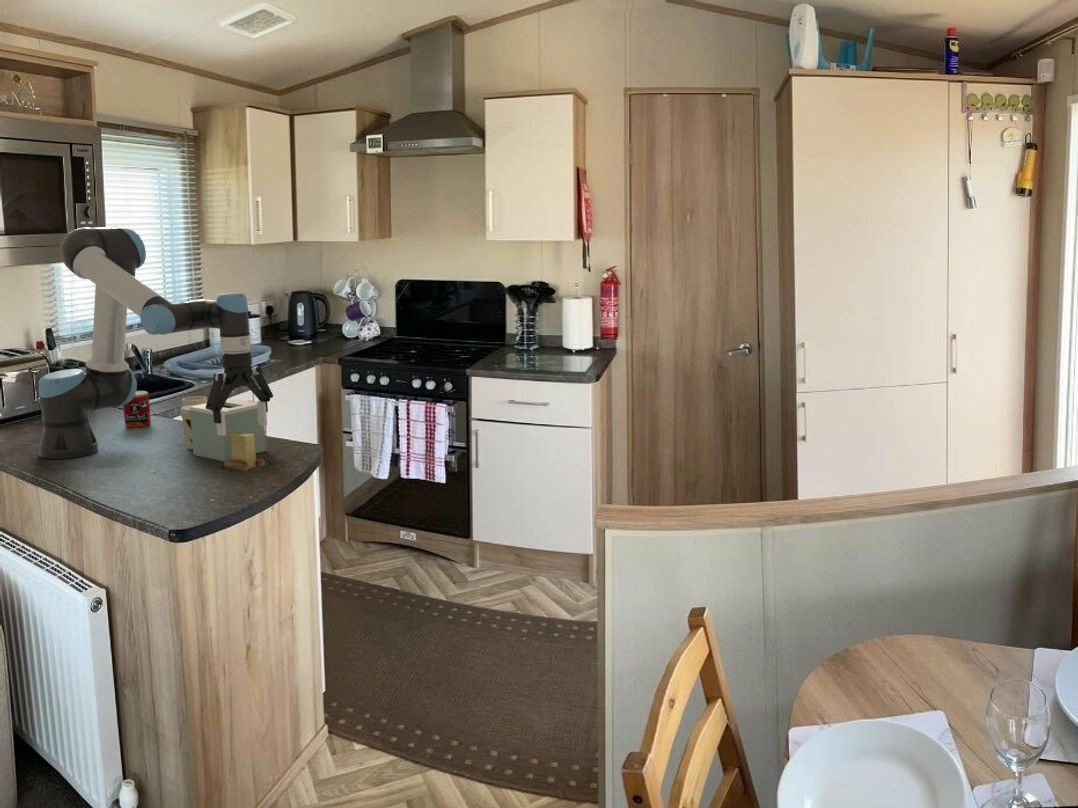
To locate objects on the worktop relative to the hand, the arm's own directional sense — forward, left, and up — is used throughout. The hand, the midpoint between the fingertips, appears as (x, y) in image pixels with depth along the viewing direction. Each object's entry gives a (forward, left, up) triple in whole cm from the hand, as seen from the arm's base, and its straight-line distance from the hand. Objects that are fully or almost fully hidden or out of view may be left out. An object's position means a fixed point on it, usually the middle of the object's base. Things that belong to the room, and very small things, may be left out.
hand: (242, 429), depth 246 cm
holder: (0, 0, -10) cm, 10 cm away
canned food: (+13, +68, -10) cm, 70 cm away
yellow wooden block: (0, 0, -10) cm, 10 cm away
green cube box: (+7, +15, -10) cm, 20 cm away
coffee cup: (+7, +29, -10) cm, 31 cm away
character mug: (+11, +35, -10) cm, 39 cm away
